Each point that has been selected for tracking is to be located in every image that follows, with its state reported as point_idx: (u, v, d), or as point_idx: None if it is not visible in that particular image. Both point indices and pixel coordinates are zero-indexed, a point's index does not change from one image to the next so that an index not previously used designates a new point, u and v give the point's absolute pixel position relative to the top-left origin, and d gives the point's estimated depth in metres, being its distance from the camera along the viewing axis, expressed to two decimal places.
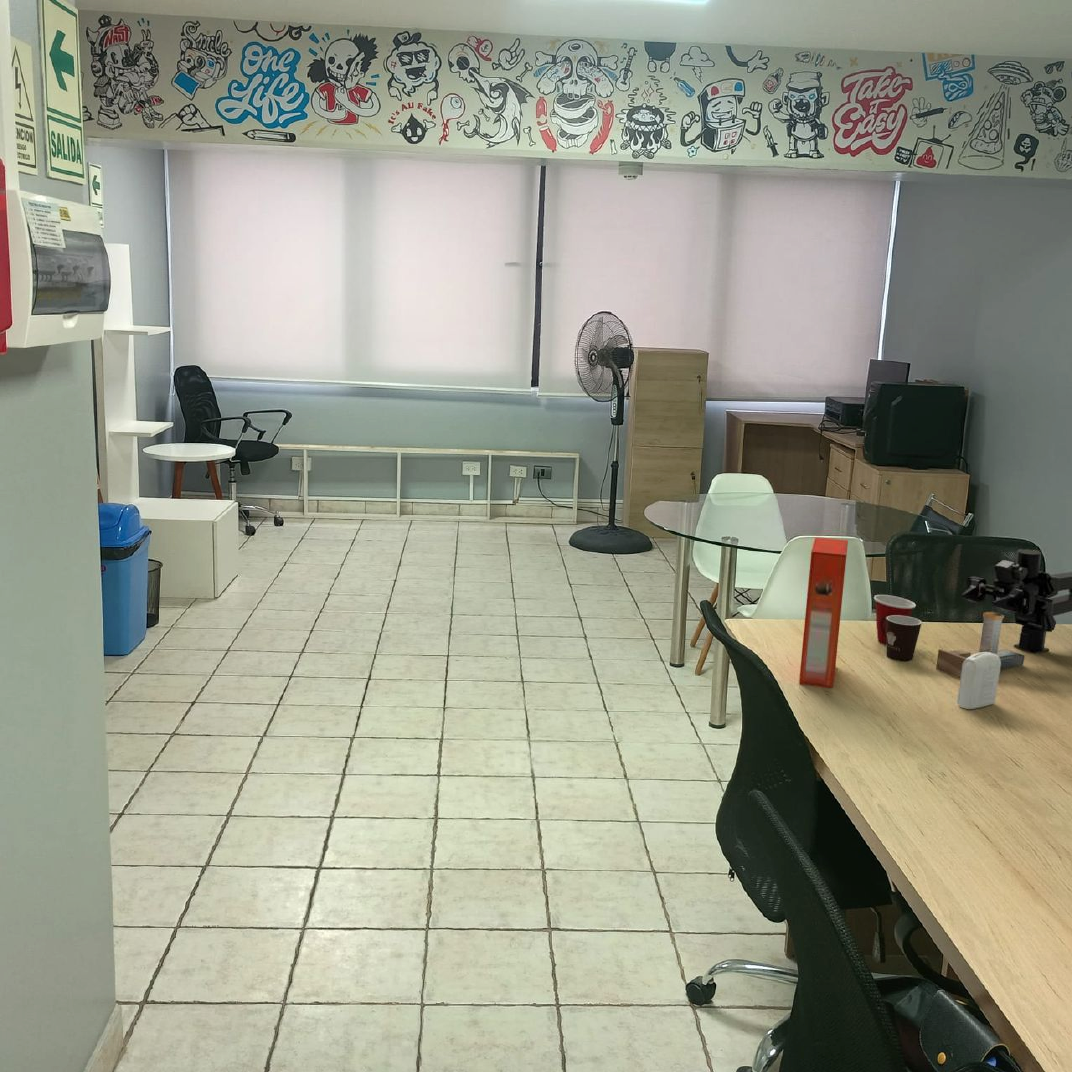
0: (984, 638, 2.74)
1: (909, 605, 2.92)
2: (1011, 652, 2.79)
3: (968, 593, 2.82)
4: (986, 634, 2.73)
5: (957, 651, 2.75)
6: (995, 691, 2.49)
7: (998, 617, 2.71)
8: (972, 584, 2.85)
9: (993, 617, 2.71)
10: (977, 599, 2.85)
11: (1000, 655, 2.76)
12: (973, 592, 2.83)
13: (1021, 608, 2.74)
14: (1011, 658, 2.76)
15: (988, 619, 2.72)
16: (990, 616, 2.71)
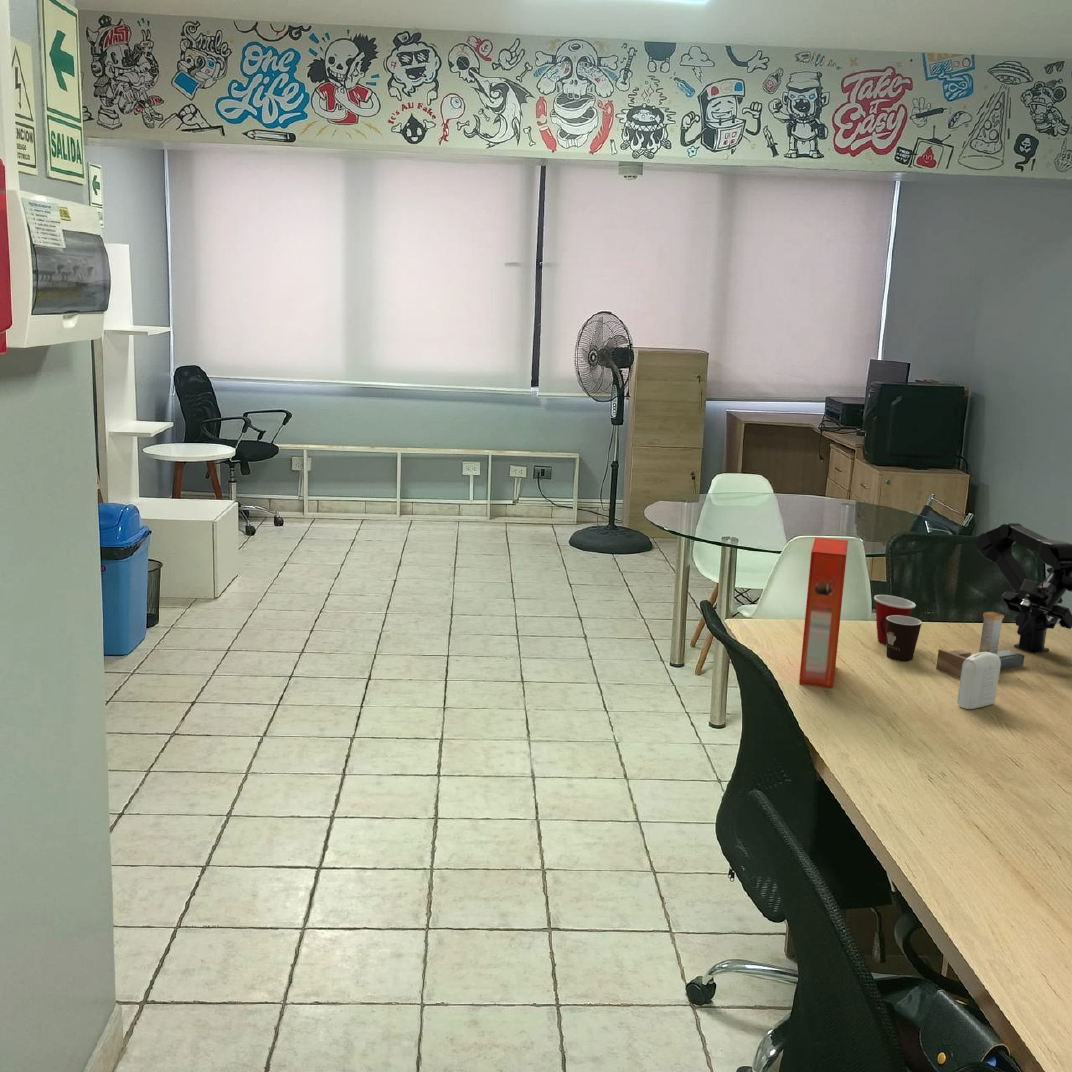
0: (984, 638, 2.74)
1: (909, 605, 2.92)
2: (1011, 652, 2.79)
3: None
4: (986, 634, 2.73)
5: (957, 651, 2.75)
6: (995, 691, 2.49)
7: (998, 617, 2.71)
8: (1022, 610, 2.81)
9: (993, 617, 2.71)
10: None
11: (1000, 655, 2.76)
12: (1026, 620, 2.81)
13: (1047, 622, 2.79)
14: (1011, 658, 2.76)
15: (988, 619, 2.72)
16: (990, 616, 2.71)
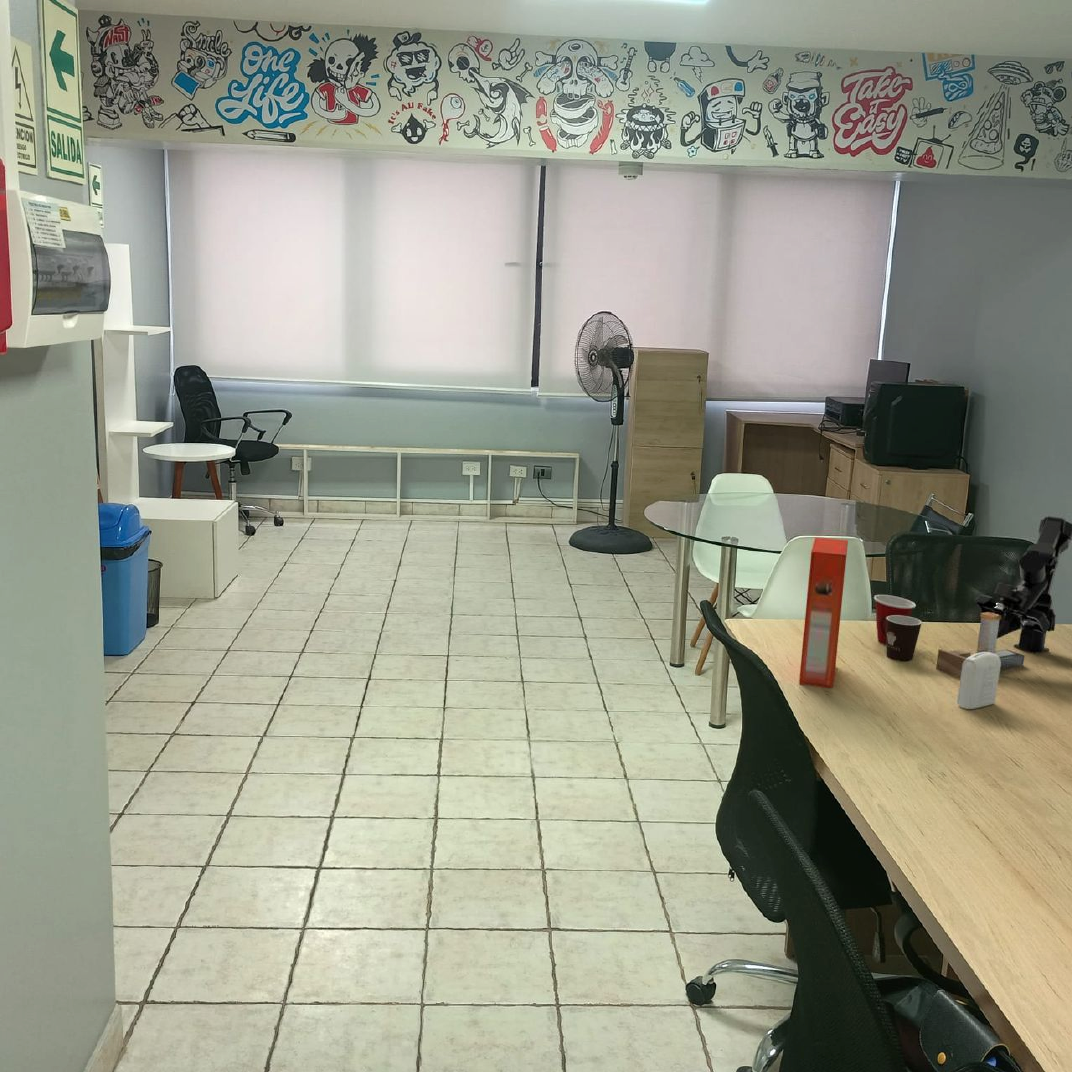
0: (981, 638, 2.73)
1: (909, 605, 2.92)
2: (1008, 652, 2.78)
3: None
4: (983, 634, 2.72)
5: (957, 651, 2.75)
6: (995, 691, 2.49)
7: (995, 617, 2.71)
8: None
9: (990, 617, 2.70)
10: None
11: None
12: (1000, 624, 2.75)
13: (1021, 626, 2.73)
14: (1011, 658, 2.76)
15: (985, 619, 2.72)
16: (987, 616, 2.71)
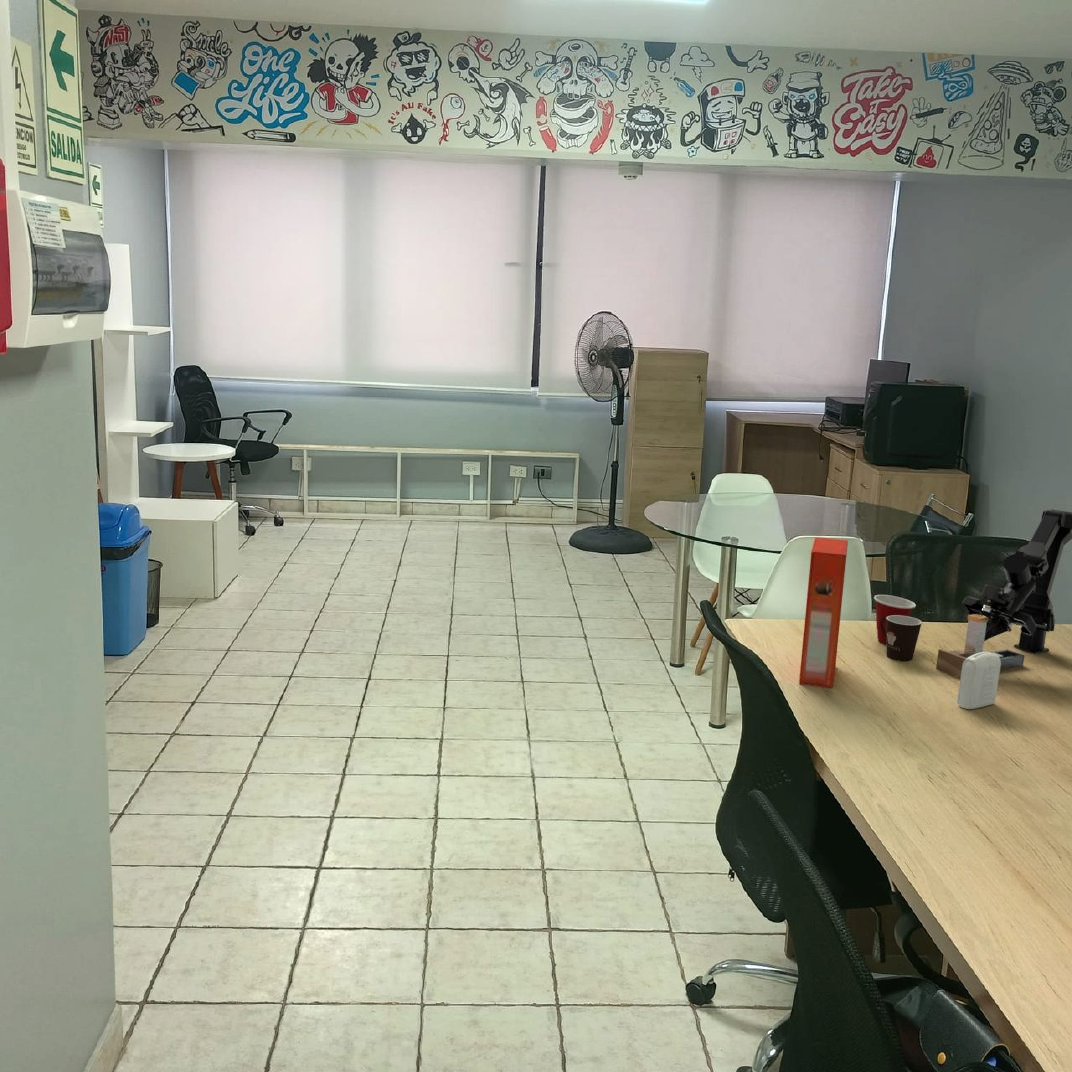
0: (969, 641, 2.71)
1: (909, 605, 2.92)
2: None
3: None
4: (971, 637, 2.70)
5: (957, 651, 2.75)
6: (995, 691, 2.49)
7: (983, 619, 2.68)
8: None
9: (977, 619, 2.68)
10: None
11: None
12: (987, 626, 2.73)
13: (1008, 628, 2.71)
14: (1011, 658, 2.76)
15: (972, 621, 2.69)
16: (974, 618, 2.69)
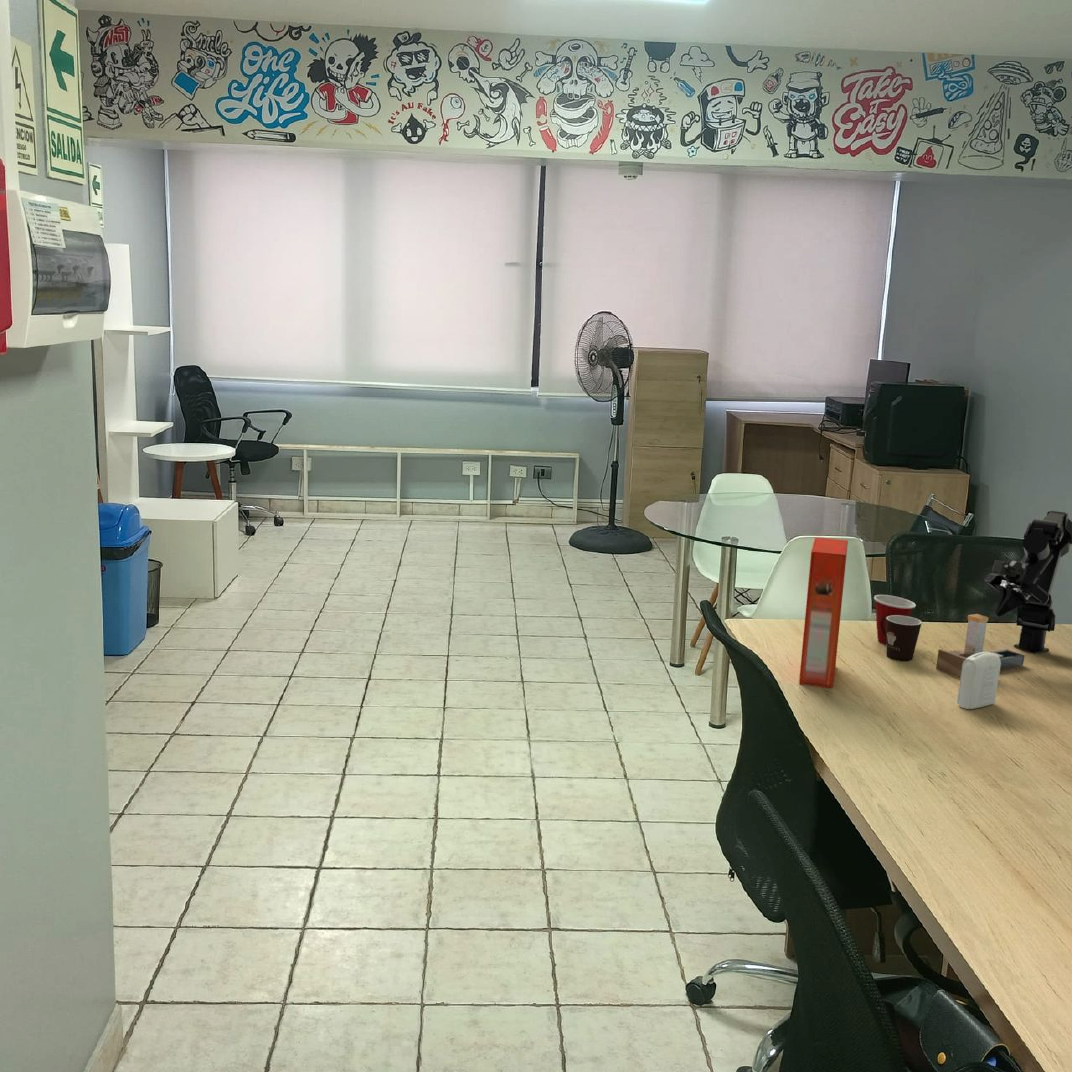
0: (969, 641, 2.71)
1: (909, 605, 2.92)
2: None
3: None
4: (971, 637, 2.70)
5: (957, 651, 2.75)
6: (995, 691, 2.49)
7: (983, 619, 2.68)
8: (1000, 591, 2.80)
9: (977, 619, 2.68)
10: None
11: None
12: None
13: (1024, 600, 2.76)
14: (1011, 658, 2.76)
15: (972, 621, 2.69)
16: (974, 618, 2.69)
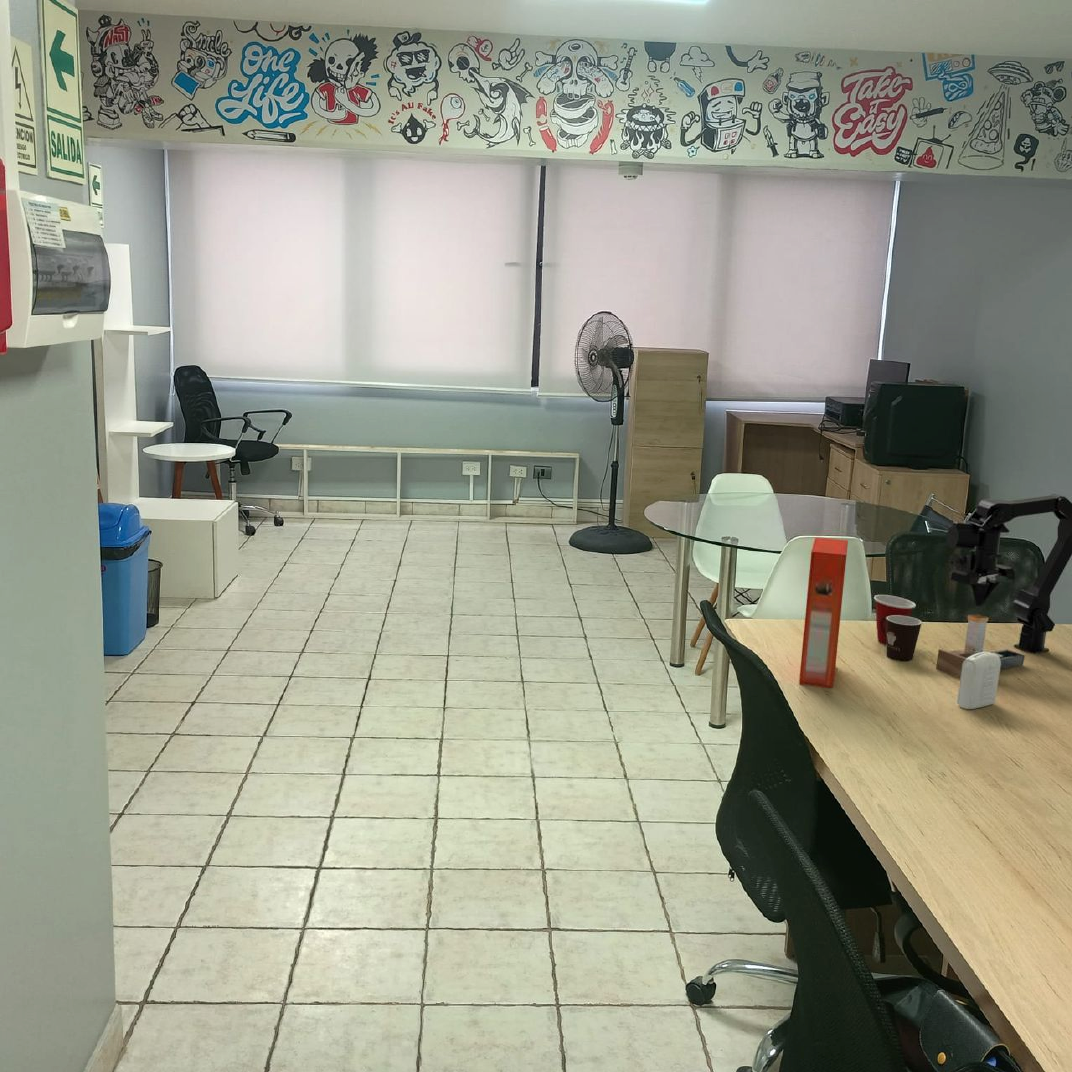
0: (969, 641, 2.71)
1: (909, 605, 2.92)
2: None
3: None
4: (971, 637, 2.70)
5: (957, 651, 2.75)
6: (995, 691, 2.49)
7: (983, 619, 2.68)
8: None
9: (977, 619, 2.68)
10: (990, 584, 2.85)
11: None
12: None
13: (978, 584, 2.84)
14: (1011, 658, 2.76)
15: (972, 621, 2.69)
16: (974, 618, 2.69)
